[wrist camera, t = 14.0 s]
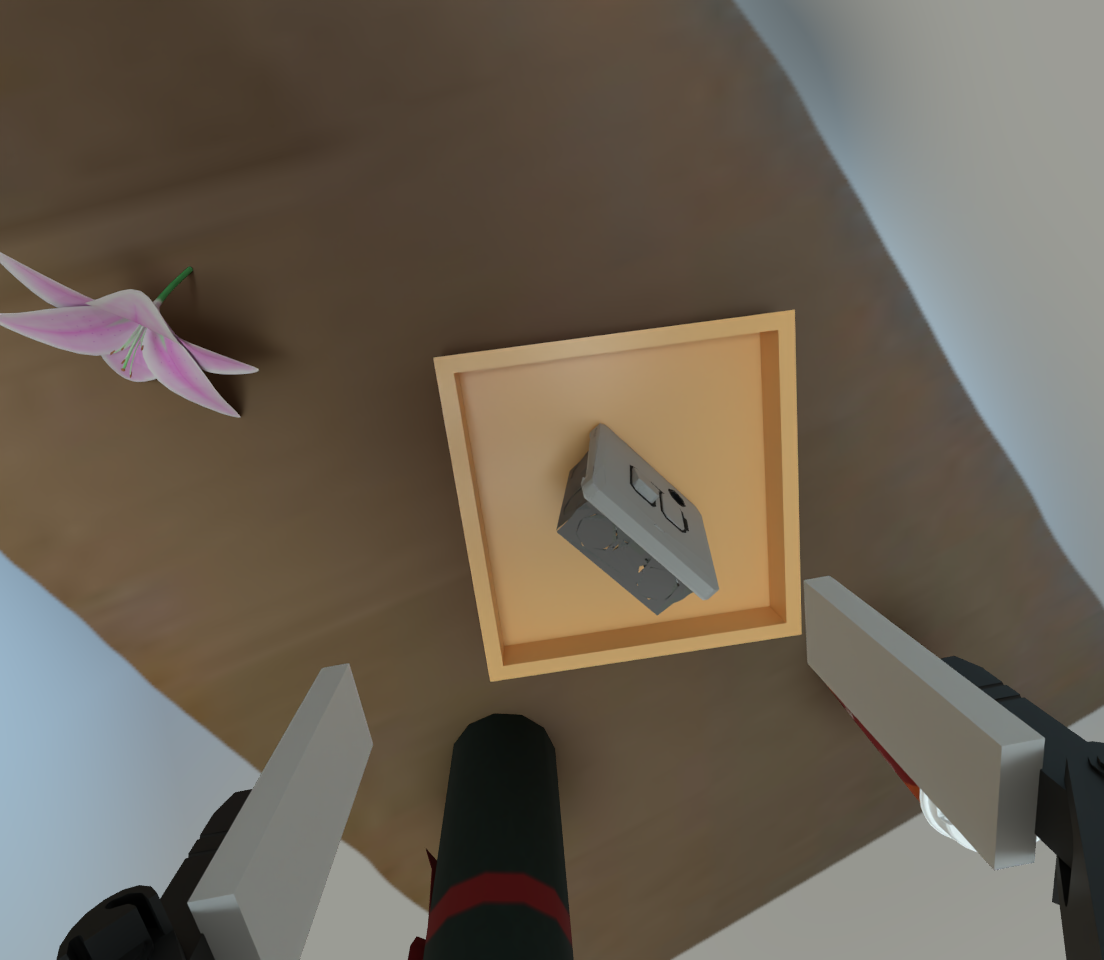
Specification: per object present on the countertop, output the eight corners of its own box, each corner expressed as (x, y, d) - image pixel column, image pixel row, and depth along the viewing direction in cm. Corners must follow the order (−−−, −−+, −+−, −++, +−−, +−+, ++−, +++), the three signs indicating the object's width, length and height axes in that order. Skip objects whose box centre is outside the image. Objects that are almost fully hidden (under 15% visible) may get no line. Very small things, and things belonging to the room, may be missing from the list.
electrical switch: (700, 509, 37) (746, 573, 28) (646, 561, 38) (673, 639, 29) (599, 418, 35) (614, 455, 26) (545, 475, 36) (542, 530, 28)
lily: (50, 294, 33) (-78, 382, 26) (106, 128, 28) (-38, 184, 21) (247, 403, 39) (186, 499, 32) (328, 285, 33) (274, 370, 26)
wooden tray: (441, 356, 35) (433, 357, 31) (767, 313, 35) (794, 309, 32) (492, 653, 40) (490, 681, 36) (777, 610, 40) (801, 634, 37)
